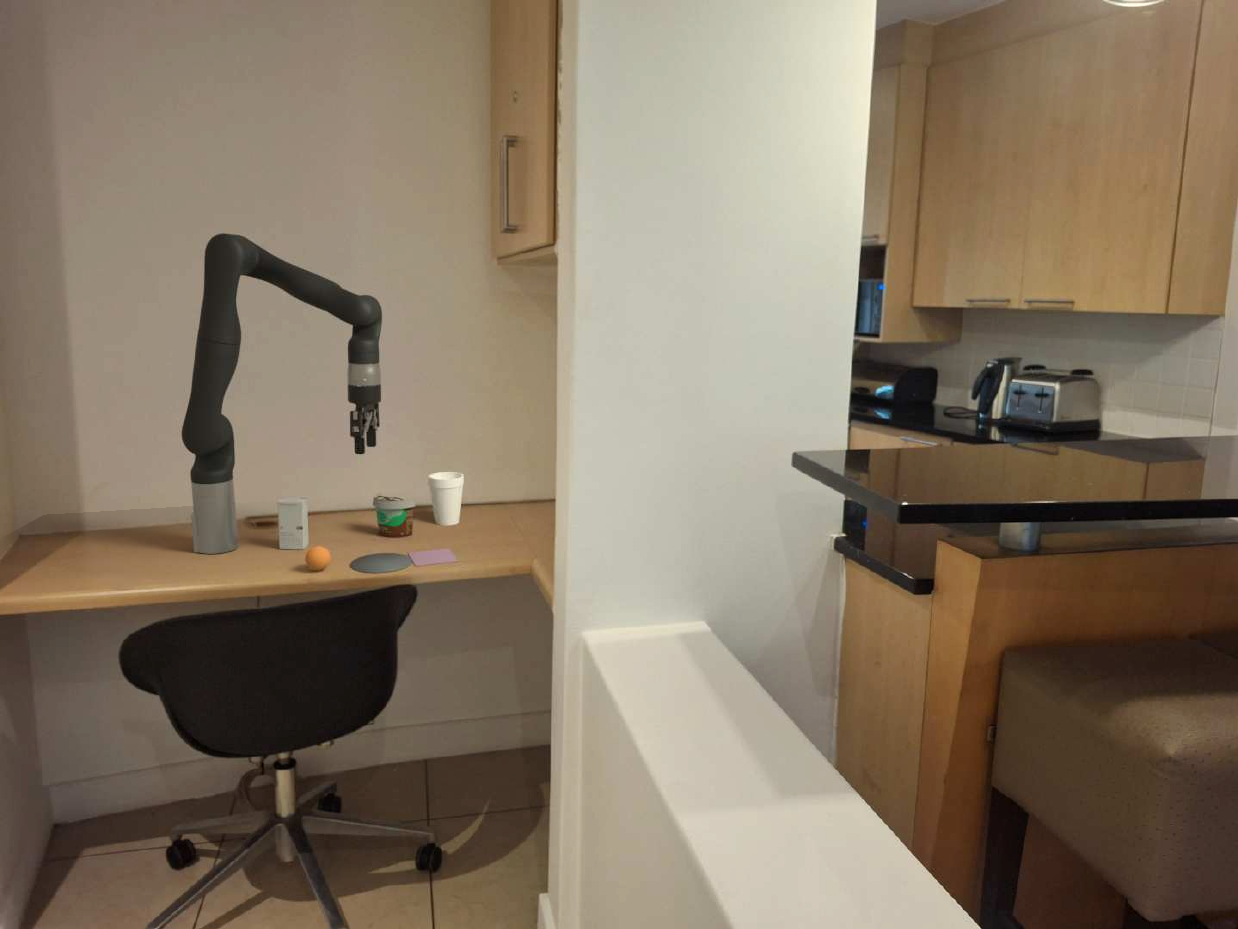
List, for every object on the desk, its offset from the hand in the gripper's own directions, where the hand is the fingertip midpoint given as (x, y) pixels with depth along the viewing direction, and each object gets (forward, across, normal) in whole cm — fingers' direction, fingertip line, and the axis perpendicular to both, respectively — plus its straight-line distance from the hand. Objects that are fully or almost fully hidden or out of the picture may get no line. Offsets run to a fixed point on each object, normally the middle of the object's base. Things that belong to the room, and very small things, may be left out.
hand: (365, 450), depth 210 cm
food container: (+25, -14, +1) cm, 29 cm away
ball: (+23, +14, -7) cm, 28 cm away
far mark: (+25, +3, +17) cm, 30 cm away
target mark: (+25, +8, +6) cm, 27 cm away
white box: (+26, -2, -19) cm, 32 cm away
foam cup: (+25, -27, +13) cm, 39 cm away
